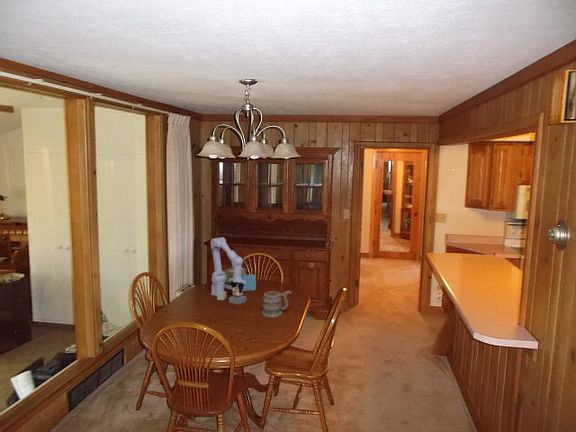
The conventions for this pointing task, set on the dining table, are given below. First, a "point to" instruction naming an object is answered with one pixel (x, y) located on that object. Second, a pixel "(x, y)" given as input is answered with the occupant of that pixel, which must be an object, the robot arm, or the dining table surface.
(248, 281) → the data package
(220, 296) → the sage block
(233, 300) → the base block
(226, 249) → the robot arm
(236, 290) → the maple cube
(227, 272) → the tea box
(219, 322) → the dining table surface
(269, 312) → the tankard
